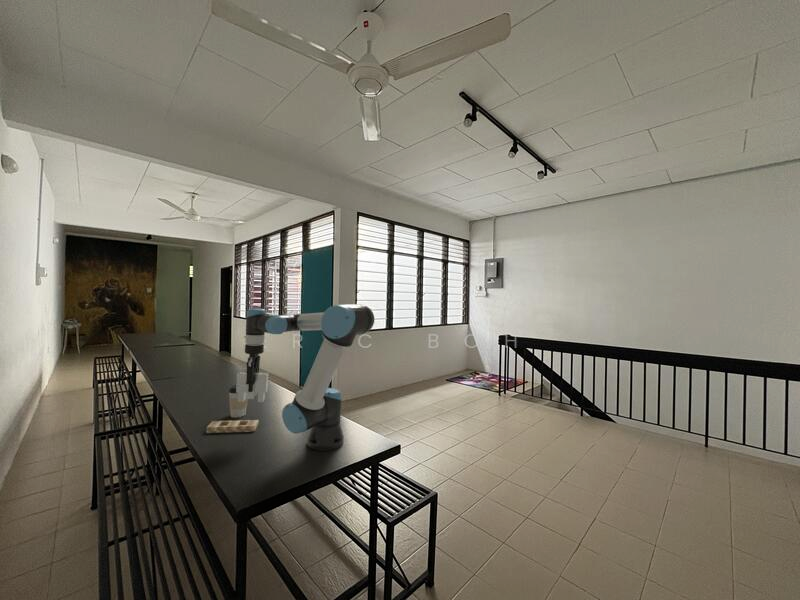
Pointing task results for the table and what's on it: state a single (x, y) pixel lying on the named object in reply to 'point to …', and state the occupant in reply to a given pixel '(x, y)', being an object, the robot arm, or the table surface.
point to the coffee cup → (236, 404)
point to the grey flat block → (259, 382)
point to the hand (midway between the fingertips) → (251, 397)
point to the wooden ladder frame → (232, 426)
